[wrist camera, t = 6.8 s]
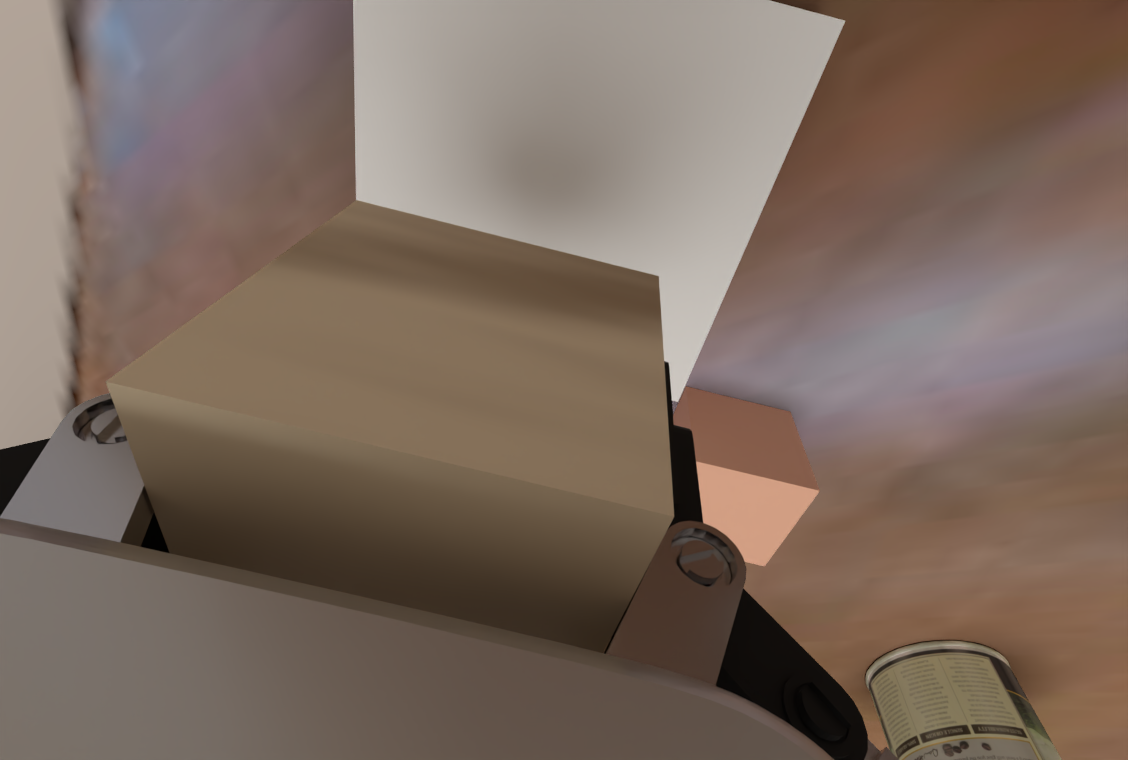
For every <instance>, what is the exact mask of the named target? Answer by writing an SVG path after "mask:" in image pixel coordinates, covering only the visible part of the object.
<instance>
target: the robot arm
mask: <svg viewBox="0 0 1128 760" xmlns="http://www.w3.org/2000/svg"><path fill="white" fill-rule="evenodd" d="M664 365H665V381H666V396H667V412H668V427H669V443H670V458H671V474H672V489H673V505H674V518H673V520H672V522H671V524H670V526H669V528H668V530H667V531H666V533H665V535H664V537H663V539H662V541H661V543H660V545H659V547H658V549H657V551H656V553H655V554H654V556H653V558H652V560H651V562H650V564H649V566H648V568H647V570H646V572H645V574H644V576H643V577H642V579H641V581H640V583H639V585H638V587H637V589H636V591H635V593H634V595H633V597H632V599H631V600H630V602H629V604H628V606H627V608H626V610H625V612H624V614H623V616H622V618H621V620H620V621H619V623H618V625H617V627H616V629H615V631H614V633H613V635H612V637H611V639H610V641H609V643H608V644H607V646H606V648H605V650H604V652H603V653H600V652H596V651H592V650H588V649H584V648H580V647H576V646H572V645H568V644H564V643H559V642H555V641H551V640H547V639H542V638H538V637H534V636H529V635H525V634H521V633H517V632H512V631H508V630H504V629H499V628H495V627H491V626H487V625H482V624H478V623H474V622H469V621H465V620H461V619H457V618H452V617H448V616H444V615H439V614H435V613H431V612H427V611H422V610H418V609H413V608H409V607H405V606H400V605H396V604H392V603H387V602H383V601H378V600H374V599H370V598H365V597H361V596H357V595H352V594H348V593H344V592H339V591H335V590H330V589H326V588H322V587H317V586H313V585H308V584H304V583H300V582H295V581H291V580H286V579H282V578H277V577H273V576H269V575H264V574H260V573H255V572H251V571H247V570H242V569H238V568H233V567H229V566H224V565H220V564H215V563H211V562H206V561H202V560H197V559H193V558H188V557H184V556H179V555H175V554H170V553H169V550H168V547H167V545H166V542H165V539H164V537H163V534H162V531H161V529H160V526H159V523H158V521H157V518H156V515H155V513H154V510H153V507H152V505H151V502H150V499H149V496H148V494H147V491H146V488H145V486H144V483H143V480H142V478H141V475H140V472H139V470H138V467H137V464H136V462H135V459H134V456H133V454H132V451H131V448H130V446H129V443H128V440H127V438H126V435H125V432H124V430H123V427H122V424H121V422H120V419H119V416H118V414H117V411H116V408H115V406H114V403H113V400H112V398H111V395H110V393H109V394H105V395H100V396H98V397H95V398H93V399H91V400H88V401H86V402H84V403H82V404H80V405H79V406H77V407H76V408H74V409H73V410H71V411H70V412H69V413H68V414H67V415H66V417H65V418H64V419H63V420H62V421H61V423H60V424H59V426H58V428H57V429H56V431H55V432H54V434H53V435H52V437H51V438H50V439H45V440H40V441H37V442H32V443H27V444H23V445H19V446H15V447H10V448H6V449H1V450H0V760H899V759H898V758H897V757H896V756H895V755H894V754H893V753H892V752H891V751H890V750H889V749H888V748H887V747H886V748H884V749H883V750H881V751H879V750H878V749H877V748H876V747H875V746H874V745H873V744H872V743H871V742H870V741H869V740H868V735H867V731H866V728H865V724H864V721H863V718H862V716H861V714H860V712H859V710H858V709H857V707H856V705H855V703H854V701H853V700H852V699H851V698H850V696H849V695H848V694H847V693H846V692H845V690H844V689H843V688H842V687H841V686H840V685H839V684H838V683H837V682H836V681H835V680H834V679H833V678H832V677H831V676H830V675H829V674H828V673H827V672H826V671H825V670H824V669H823V668H822V667H821V666H820V665H819V664H818V663H817V662H816V661H815V660H814V659H813V658H812V657H811V656H810V655H809V654H808V653H807V652H806V651H805V650H804V649H803V648H802V647H801V646H800V645H799V644H798V643H797V642H796V641H795V640H794V639H793V638H792V637H791V636H790V635H789V634H788V633H787V632H786V631H785V630H784V629H783V628H782V627H781V626H780V625H779V624H778V623H777V622H776V621H775V620H774V619H773V618H772V617H771V616H770V615H769V614H768V613H767V612H766V611H765V610H764V609H763V608H762V607H761V606H760V605H759V604H758V603H757V602H756V601H755V600H754V599H753V598H752V597H751V596H750V595H749V594H748V593H747V592H746V591H745V590H744V589H743V587H744V584H745V580H746V566H745V562H744V559H743V556H742V554H741V553H740V551H739V549H738V548H737V546H736V545H735V544H734V543H733V542H732V541H731V540H730V539H729V538H728V537H727V536H726V535H725V534H723V533H722V532H721V531H719V530H718V529H716V528H714V527H712V526H710V525H707V524H705V523H703V516H702V507H701V499H700V491H699V482H698V474H697V465H696V457H695V448H694V440H693V434H692V431H691V430H690V429H689V428H685V427H680V426H676V425H674V423H673V409H672V396H671V383H670V370H669V363H668V362H666V361H664Z"/></svg>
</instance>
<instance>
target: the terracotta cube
mask: <svg viewBox="0 0 1128 760" xmlns="http://www.w3.org/2000/svg"><path fill="white" fill-rule="evenodd" d="M673 423H674V425H676V426H680V427H685V428H689V429H690V430H691V431H692V434H693V440H694V448H695V457H696V465H697V474H698V482H699V491H700V499H701V507H702V516H703V523H705V524H707V525H710V526H712V527H714V528H716V529H718V530H719V531H721V532H722V533H723V534H725V535H726V536H727V537H728V538H729V539H730V540H731V541H732V542H733V543H734V544H735V545H736V546H737V548H738V549H739V551H740V553H741V554H742V556H743V559H744V562H749V563H753V564H757V565H761V566H765V565H766V564H767V562H768V561H769V559H770V558H771V557H772V555H773V554H774V553H775V551H776V550H777V549H778V547H779V546H780V544H781V543H782V542H783V540H784V539H785V538H786V536H787V535H788V534H789V532H790V531H791V529H792V528H793V527H794V525H795V524H796V523H797V521H798V520H799V519H800V517H801V516H802V514H803V513H804V512H805V510H806V509H807V508H808V506H809V505H810V504H811V502H812V501H813V499H814V498H815V497H816V495H817V494H818V493H819V491H820V490H819V487H818V485H817V482H816V479H815V477H814V474H813V471H812V469H811V466H810V463H809V461H808V458H807V455H806V453H805V450H804V447H803V445H802V442H801V439H800V437H799V434H798V431H797V428H796V426H795V423H794V420H793V418H792V415H791V412H789V411H785V410H781V409H777V408H773V407H769V406H764V405H760V404H756V403H752V402H748V401H744V400H740V399H736V398H732V397H727V396H723V395H719V394H715V393H711V392H707V391H703V390H699V389H695V388H690V387H685V390H684V392H683V394H682V396H681V399H680V401H679V403H678V405H677V408H676V410H675V412H674V415H673Z"/></svg>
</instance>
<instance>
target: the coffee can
mask: <svg viewBox="0 0 1128 760" xmlns="http://www.w3.org/2000/svg"><path fill="white" fill-rule="evenodd" d="M865 680H866V685H867V687H868V689H869V691H870V694H871V696H872V699H873V702H874V705H875V708H876V711H877V714H878V717H879V720H880V723H881V726H882V729H883V732H884V735H885V738H886V741H887V743H888V746H889V749H890V751H891V752H892V753H893V754H894V755H895V756H896V757H897V758H898V759H899V760H1062V759H1061V758H1060V756H1059V754H1058V752H1057V750H1056V749H1055V747H1054V745H1053V743H1052V742H1051V740H1050V738H1049V736H1048V734H1047V733H1046V731H1045V729H1044V727H1043V726H1042V724H1041V722H1040V720H1039V719H1038V717H1037V715H1036V713H1035V711H1034V710H1033V708H1032V706H1031V704H1030V703H1029V701H1028V699H1027V697H1026V695H1025V693H1024V692H1023V690H1022V688H1021V686H1020V685H1019V683H1018V681H1017V679H1016V677H1015V676H1014V674H1013V672H1012V670H1011V668H1010V665H1009V663H1008V661H1007V660H1006V658H1005V657H1004V656H1002V655H1001V654H1000V653H999V652H997V651H995V650H993V649H991V648H989V647H986V646H984V645H980V644H977V643H971V642H965V641H952V640H950V641H930V642H921V643H917V644H913V645H908V646H904V647H901V648H899V649H896V650H894V651H892V652H889V653H887V654H885V655H884V656H882V657H881V658H879V659H878V660H876V661H875V662H874V663H873V664H872V665H871V666H870V668H869V669H868V671H867V673H866V678H865Z"/></svg>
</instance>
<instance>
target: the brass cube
mask: <svg viewBox="0 0 1128 760" xmlns="http://www.w3.org/2000/svg"><path fill="white" fill-rule="evenodd" d="M106 384H107V387H108V390H109V392H110V395H111V398H112V400H113V403H114V406H115V408H116V411H117V414H118V416H119V419H120V422H121V424H122V427H123V430H124V432H125V435H126V438H127V440H128V443H129V446H130V448H131V451H132V454H133V456H134V459H135V462H136V464H137V467H138V470H139V472H140V475H141V478H142V480H143V483H144V486H145V488H146V491H147V494H148V496H149V499H150V502H151V505H152V507H153V510H154V513H155V515H156V518H157V521H158V523H159V526H160V529H161V531H162V534H163V537H164V539H165V542H166V545H167V547H168V550H169V553H170V554H175V555H179V556H184V557H188V558H193V559H197V560H202V561H206V562H211V563H215V564H220V565H224V566H229V567H233V568H238V569H242V570H247V571H251V572H255V573H260V574H264V575H269V576H273V577H277V578H282V579H286V580H291V581H295V582H300V583H304V584H308V585H313V586H317V587H322V588H326V589H330V590H335V591H339V592H344V593H348V594H352V595H357V596H361V597H365V598H370V599H374V600H378V601H383V602H387V603H392V604H396V605H400V606H405V607H409V608H413V609H418V610H422V611H427V612H431V613H435V614H439V615H444V616H448V617H452V618H457V619H461V620H465V621H469V622H474V623H478V624H482V625H487V626H491V627H495V628H499V629H504V630H508V631H512V632H517V633H521V634H525V635H529V636H534V637H538V638H542V639H547V640H551V641H555V642H559V643H564V644H568V645H572V646H576V647H580V648H584V649H588V650H592V651H596V652H600V653H603V652H604V650H605V648H606V646H607V644H608V643H609V641H610V639H611V637H612V635H613V633H614V631H615V629H616V627H617V625H618V623H619V621H620V620H621V618H622V616H623V614H624V612H625V610H626V608H627V606H628V604H629V602H630V600H631V599H632V597H633V595H634V593H635V591H636V589H637V587H638V585H639V583H640V581H641V579H642V577H643V576H644V574H645V572H646V570H647V568H648V566H649V564H650V562H651V560H652V558H653V556H654V554H655V553H656V551H657V549H658V547H659V545H660V543H661V541H662V539H663V537H664V535H665V533H666V531H667V530H668V528H669V526H670V524H671V522H672V520H673V518H674V505H673V489H672V474H671V458H670V443H669V427H668V412H667V396H666V381H665V365H664V350H663V334H662V319H661V303H660V288H659V276H656V275H653V274H649V273H645V272H641V271H637V270H633V269H629V268H625V267H621V266H617V265H613V264H609V263H605V262H601V261H597V260H593V259H589V258H585V257H581V256H577V255H573V254H569V253H565V252H561V251H557V250H553V249H549V248H545V247H541V246H537V245H533V244H529V243H525V242H521V241H517V240H513V239H509V238H505V237H501V236H497V235H493V234H490V233H486V232H482V231H478V230H474V229H470V228H466V227H462V226H458V225H454V224H450V223H446V222H442V221H438V220H434V219H430V218H426V217H422V216H418V215H414V214H410V213H406V212H402V211H398V210H394V209H390V208H386V207H382V206H378V205H374V204H370V203H366V202H362V201H358V200H356V201H355V202H353V203H352V204H351V205H349V206H348V207H346V208H345V209H344V210H342V211H341V212H340V213H338V214H337V215H335V216H334V217H333V218H331V219H330V220H328V221H327V222H326V223H324V224H323V225H322V226H320V227H319V228H317V229H316V230H315V231H313V232H312V233H310V234H309V235H308V236H306V237H305V238H304V239H302V240H301V241H299V242H298V243H297V244H295V245H294V246H292V247H291V248H290V249H288V250H287V251H286V252H284V253H283V254H281V255H280V256H279V257H277V258H276V259H275V260H273V261H272V262H270V263H269V264H268V265H266V266H265V267H263V268H262V269H261V270H259V271H258V272H257V273H255V274H254V275H252V276H251V277H250V278H248V279H247V280H245V281H244V282H243V283H241V284H240V285H239V286H237V287H236V288H234V289H233V290H232V291H230V292H229V293H227V294H226V295H225V296H223V297H222V298H221V299H219V300H218V301H216V302H215V303H214V304H212V305H211V306H209V307H208V308H207V309H205V310H204V311H203V312H201V313H200V314H198V315H197V316H196V317H194V318H193V319H192V320H190V321H189V322H187V323H186V324H185V325H183V326H182V327H180V328H179V329H178V330H176V331H175V332H174V333H172V334H171V335H169V336H168V337H167V338H165V339H164V340H162V341H161V342H160V343H158V344H157V345H156V346H154V347H153V348H151V349H150V350H149V351H147V352H146V353H144V354H143V355H142V356H140V357H139V358H138V359H136V360H135V361H133V362H132V363H131V364H129V365H128V366H126V367H125V368H124V369H122V370H121V371H120V372H118V373H117V374H115V375H114V376H113V377H111V378H110V379H108V380H107V381H106Z"/></svg>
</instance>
